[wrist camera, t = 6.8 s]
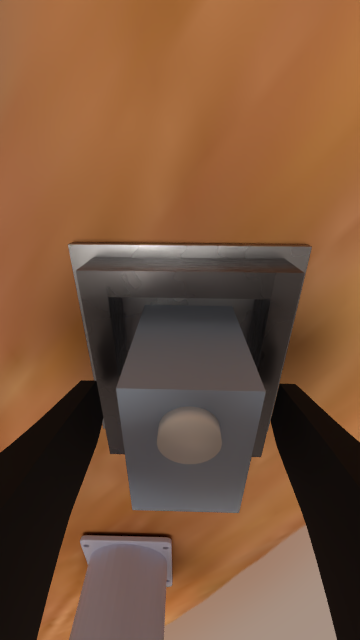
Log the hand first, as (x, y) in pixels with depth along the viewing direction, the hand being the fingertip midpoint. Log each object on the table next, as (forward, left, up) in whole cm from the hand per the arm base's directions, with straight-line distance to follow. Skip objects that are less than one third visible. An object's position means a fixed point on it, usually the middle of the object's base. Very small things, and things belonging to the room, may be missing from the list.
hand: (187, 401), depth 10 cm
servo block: (0, 0, -3) cm, 3 cm away
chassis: (0, 0, -4) cm, 4 cm away
